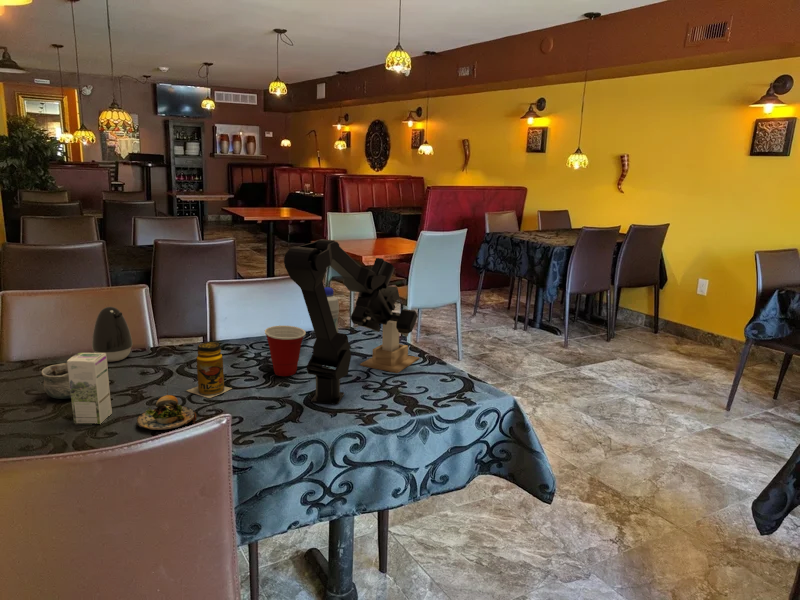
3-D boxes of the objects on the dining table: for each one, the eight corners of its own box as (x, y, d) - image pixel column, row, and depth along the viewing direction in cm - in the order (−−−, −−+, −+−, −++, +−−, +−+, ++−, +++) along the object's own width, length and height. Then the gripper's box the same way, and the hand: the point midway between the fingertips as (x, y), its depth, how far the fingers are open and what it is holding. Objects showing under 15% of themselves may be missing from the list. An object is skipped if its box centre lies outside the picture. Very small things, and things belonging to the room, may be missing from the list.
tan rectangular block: (391, 363, 163) (392, 322, 160) (382, 361, 164) (382, 321, 161) (398, 359, 167) (399, 319, 164) (389, 357, 168) (390, 318, 165)
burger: (124, 433, 118) (121, 399, 117) (156, 410, 130) (154, 379, 128) (178, 438, 117) (176, 404, 115) (206, 415, 128) (204, 383, 126)
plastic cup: (293, 382, 148) (293, 337, 145) (257, 376, 151) (256, 333, 149) (313, 369, 158) (313, 327, 155) (278, 364, 161) (278, 323, 159)
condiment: (210, 398, 136) (207, 350, 134) (185, 391, 140) (182, 344, 138) (232, 389, 142) (230, 343, 140) (208, 382, 147) (206, 337, 144)
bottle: (312, 353, 172) (311, 288, 167) (325, 347, 178) (325, 284, 173) (331, 356, 169) (330, 290, 164) (343, 351, 175) (343, 286, 170)
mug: (53, 389, 139) (48, 350, 137) (109, 386, 142) (105, 348, 140) (37, 405, 130) (32, 363, 128) (97, 402, 133) (93, 361, 131)
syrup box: (113, 414, 126) (107, 351, 123) (100, 425, 121) (94, 360, 118) (86, 413, 126) (80, 351, 123) (72, 425, 121) (65, 360, 117)
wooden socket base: (397, 373, 157) (397, 357, 156) (359, 365, 162) (360, 350, 161) (419, 359, 169) (419, 344, 168) (383, 352, 174) (384, 338, 173)
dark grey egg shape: (107, 367, 155) (102, 313, 152) (85, 360, 161) (80, 307, 157) (141, 357, 164) (137, 306, 161) (119, 351, 169) (115, 301, 166)
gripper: (416, 282, 152) (431, 313, 164) (356, 274, 161) (375, 305, 173) (401, 316, 147) (418, 347, 159) (340, 307, 155) (361, 336, 167)
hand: (393, 332), depth 165 cm, fingers open, 9 cm apart
